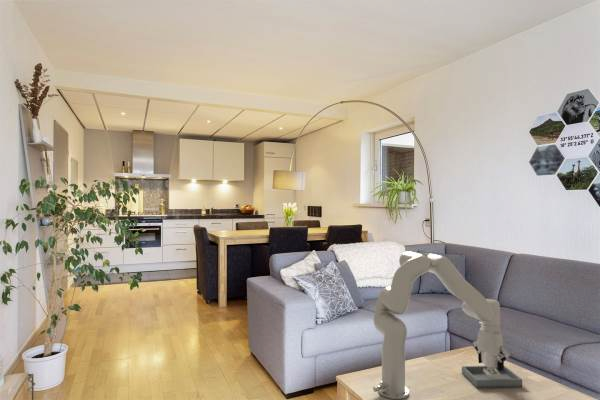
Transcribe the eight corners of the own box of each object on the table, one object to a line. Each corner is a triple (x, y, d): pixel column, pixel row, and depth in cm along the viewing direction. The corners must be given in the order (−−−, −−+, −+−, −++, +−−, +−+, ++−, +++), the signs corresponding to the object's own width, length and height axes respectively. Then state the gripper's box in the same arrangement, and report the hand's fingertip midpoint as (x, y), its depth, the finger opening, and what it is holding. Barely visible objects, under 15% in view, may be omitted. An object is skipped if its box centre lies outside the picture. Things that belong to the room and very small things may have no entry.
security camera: (495, 370, 175) (495, 348, 175) (501, 377, 168) (501, 354, 168) (480, 369, 175) (480, 347, 176) (486, 376, 168) (486, 353, 169)
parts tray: (476, 388, 165) (476, 380, 165) (461, 373, 179) (461, 366, 179) (522, 387, 165) (522, 379, 165) (504, 372, 179) (504, 365, 179)
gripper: (468, 323, 178) (468, 361, 178) (504, 334, 163) (504, 375, 163) (478, 321, 181) (478, 357, 181) (514, 331, 166) (514, 371, 166)
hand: (490, 366), depth 172 cm, fingers closed on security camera, 8 cm apart
